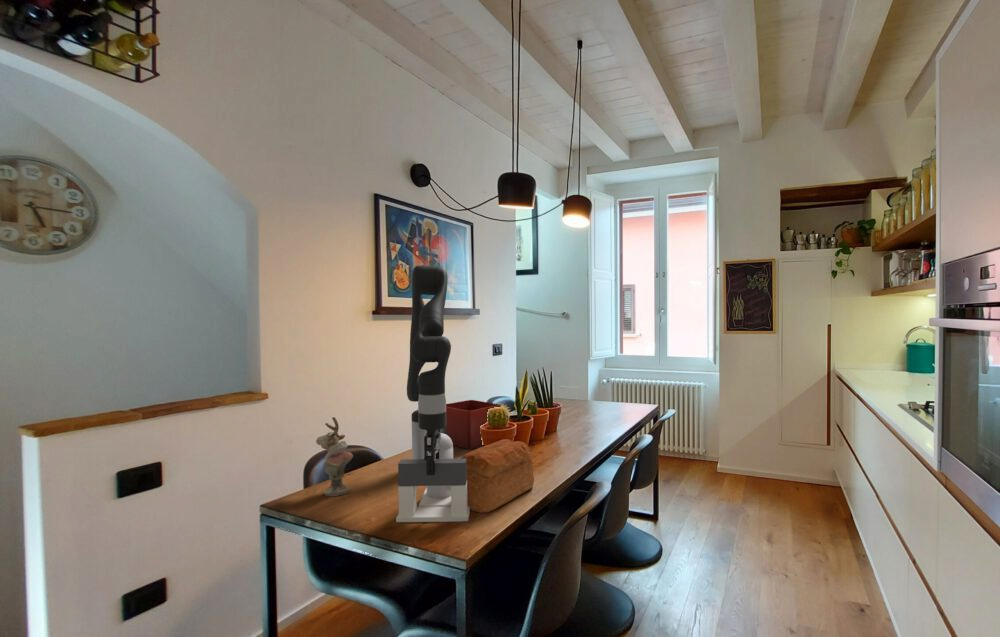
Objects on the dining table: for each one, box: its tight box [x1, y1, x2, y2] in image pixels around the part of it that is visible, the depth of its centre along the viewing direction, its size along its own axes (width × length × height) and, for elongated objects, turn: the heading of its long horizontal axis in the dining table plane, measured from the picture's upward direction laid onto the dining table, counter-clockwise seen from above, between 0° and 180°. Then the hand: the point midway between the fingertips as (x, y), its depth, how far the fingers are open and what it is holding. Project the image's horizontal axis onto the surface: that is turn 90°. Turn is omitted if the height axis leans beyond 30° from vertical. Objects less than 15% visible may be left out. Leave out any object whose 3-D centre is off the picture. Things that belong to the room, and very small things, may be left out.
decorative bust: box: [315, 416, 354, 497], centre depth 154 cm, size 11×13×25 cm
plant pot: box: [443, 399, 502, 450], centre depth 209 cm, size 19×19×17 cm
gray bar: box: [397, 458, 467, 487], centre depth 134 cm, size 18×4×6 cm, turn 90°
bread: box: [459, 438, 535, 513], centre depth 149 cm, size 14×27×15 cm, turn 146°
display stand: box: [395, 432, 471, 523], centre depth 142 cm, size 22×19×19 cm
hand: (433, 469), depth 134 cm, fingers open, 8 cm apart
